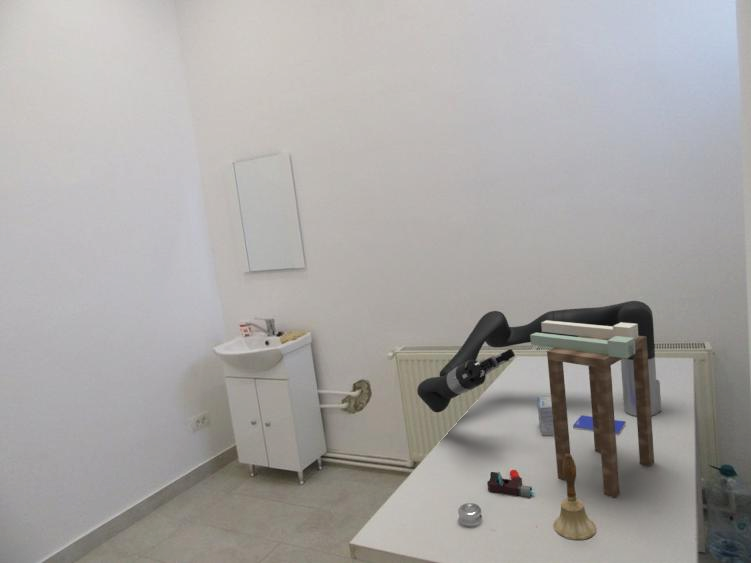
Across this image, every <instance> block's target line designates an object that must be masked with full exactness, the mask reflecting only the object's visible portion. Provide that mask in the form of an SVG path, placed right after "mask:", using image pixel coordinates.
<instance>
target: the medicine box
mask: <svg viewBox="0 0 751 563" xmlns="http://www.w3.org/2000/svg"><path fill="white" fill-rule="evenodd" d="M536 405H537V413H538V421H539V422H538V423H539V424H538V425H539V428H540V430H541V435H542V436H554V426H553V415H552V403H551V396H541V397H536Z"/></svg>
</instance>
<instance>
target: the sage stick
mask: <svg viewBox="0 0 751 563" xmlns="http://www.w3.org/2000/svg"><path fill="white" fill-rule="evenodd" d="M530 338H531V342H530V345H532V346H538V347H545V348H552V349H553V348H560V349H567V350H575V351H582V352H590V353H597V354H605V355H608V356H611V357H619V358H626V359H627V358H629V357H630V356H632V355H634V354H635V339H634V338H631V337H621V336H615V337H613V338H611V339H609V340H599V339H590V338H581V337H572V336H563V335H554V334H545V333H534V334H531V335H530Z"/></svg>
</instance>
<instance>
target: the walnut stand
mask: <svg viewBox="0 0 751 563" xmlns="http://www.w3.org/2000/svg"><path fill="white" fill-rule="evenodd" d="M579 337H581V338H590V339H599V340H609V339H604V338H595V337H586V336H579ZM546 355H547V367H548V368H547V369H548V377H549V389H550V397H551V403H552V415H553V426H554V435H553V436H554V446H555V457H556V458H555V459H556V469H557V470H556V472H557V479H559V480H562V481H565V482H566V480H565V478H564V474H563V461H564V458H565V454H571V446H570V431H569V419H568V412H567V411H568V410H567V409H568V408H567V397H566V396H567V395H566V386H565V373H564V363H567V364H573V365H579V366H580V365H581V366H586V367H588V375H589V377H588V379H589V388H590V389H589V390H590V391H589V392H590V403H591V415H592V416H591V417H592V418H593V431H594V432H593V441H594V444H593V445H594V452H597V453H600V455H601V456H600V457H601V469H602V472H601V474H602V483H603V495H604V496H607V497H610V498H612V499H616V497H618V496H619V495H620V494H621V493H620V481H619V480H620V478H619V476H620V475H619V464H618V463H619V462H618V452H617V451H618V450H617V448H618V446H617V437H616V436H617V435H616V433H615V420H616V419H615V408H614V407H615V406H614V395H613V394H614V393H613V379H612V365H614V364H616V363H618V362H619V361H621V359H623V358H619V357H611V356H608V355H605V354H597V353H590V352H582V351H575V350H567V349H560V348H552V349H549V350H547V351H546ZM633 366H634V381H635V397H636V412H637V416H636V425H637V426H636V427H637V440H638V443H637V444H638V458H639V465H642V466H645V467H646V466H647V467H651V466H653V464H654V463H655V454H654V451H655V450H654V439H653V438H654V434H653V423H652V422H653V420H652V416H651V401H650V384H649V368H648V352H647V337H646V336H638V339H636V340H635V354H634V355H633Z"/></svg>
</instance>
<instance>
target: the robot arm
mask: <svg viewBox="0 0 751 563" xmlns="http://www.w3.org/2000/svg"><path fill="white" fill-rule="evenodd" d="M653 315H654V314H653V311H652V309H651V308H650V306H649V305H647V304H646V303H645V302H643V301H640V300H631V301H630V300H629V301H625V302H621V303H616V304H609V305H604V306H599V307H580V308H569V309H568V308H567V309H566V308H565V309H558V310H551V311H547V312H545V313H543V314H541V315H540V316H538V317H537V318H535V319H534V320H533V321H531V322H530V323H527V324H524V325H519V326H510V325H509V322H508V320H507V318H506V316H505V314H504V313H503V312H501V311H499V310H492V311H488V312H487V313H485V314H483V316H482V317H481V318H480V319H479V320H478V322H477V323H476V325H475V327H474V328H473V329H472V331H471V332H470V334H469V335H468V337H467V338H466V340H465V341H464V343H463V344H462V346H461V347H460V348H459V350H458V351H457V352H456V353H455V355H454V356H452V358H451V359H450V360H449V361H448V362H447V364H445V366H444V367H443V368H442V369H441V370H440V371H439V376H435V377H430V378H426V379H424V380H423V381H421V382H420V383H419V384H418V386H417V389H416V392H417V395H418V396H419V398H420V399H421V400H422V401H423V402H424V404H426V405H427V407H428V408H429V409H430V410H431V411H432V412H434V413H441V412H444V411H445V410H446V409H447V408H448V406H449V404H450V402H451V400H452V399H455V398H456V397H458V396H460V395H462V394H465V393H469V391H472V390H473V389H475V388H477V387H479V386H481V385H482V384H484V383H485V380H486V377H487V376H486V375H488V374H490V373H492V372H493V371H494V370H496V369H498V368H500V366H501V365H503V364H505V363H507V362H509V361H510V359H512V358H515V356H516V355H515V352H514V351H513V349H512V348H509V349H507V350H506V351H504V352H500V353H499V354H497V355H492V356H490V357H488V358H485V359H481V360H479V361H477V358H478V357H479V353H480V352H481V350H482V347H483V345H484V344H485V343H486V344H487V345H488V346H489V347H491V348H507V347H511V346H515V345H517V346H518V345H522V344H526V343H527V344H528V343H531V338H530V335H531V334H534V333H545V334H554V335H563V336H572V337H579V336H577V335H568V334H559V333H550V332H542V326H541V322H544V321H546V320H547V321H558V322H569V323H580V324H591V325H602V326H612V327H613V326H614V325H616V324H619V323H621V322H622V323H634V324H638V336H646V337H647V352H648V368H649V384H650V401H651V417H652V416H654V415H657V414H658V413H659V412H660V413H661V412H662V404H661V403H662V401H661V400H662V399H661V385H660V384H661V382H660V380H659V379H657V370H656V351H655V350H656V349H655V348H656V346H655V333H654V332H655V331H654V330H655V328H654V318H653ZM620 366H621V368H620V369H621V370H620V371H621V381H622V382H621V383H622V396H623V397H622V399H623V400H622V401H623V411H624V412H625V413H626V414H628V415H631V416H635V417H637V412H636V397H635V381H634V366H633V355H632V356H630V357H629V358H627V359H626V358H623V359H621V360H620Z"/></svg>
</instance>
